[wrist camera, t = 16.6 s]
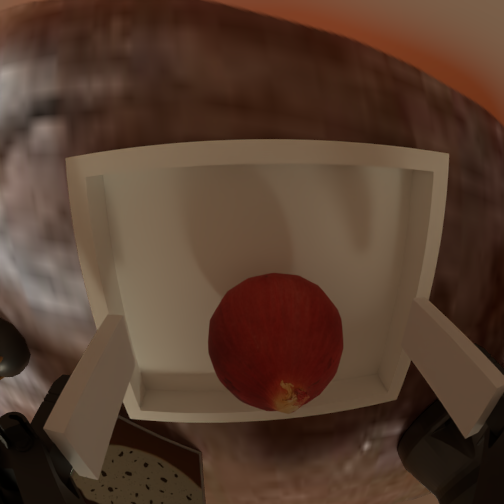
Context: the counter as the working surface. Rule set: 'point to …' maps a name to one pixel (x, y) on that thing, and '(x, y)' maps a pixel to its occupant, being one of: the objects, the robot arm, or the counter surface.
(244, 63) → the counter surface
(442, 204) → the tray
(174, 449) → the food container
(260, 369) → the onion
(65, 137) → the counter surface
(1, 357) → the wooden tabletop sculpture
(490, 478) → the robot arm
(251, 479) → the counter surface
